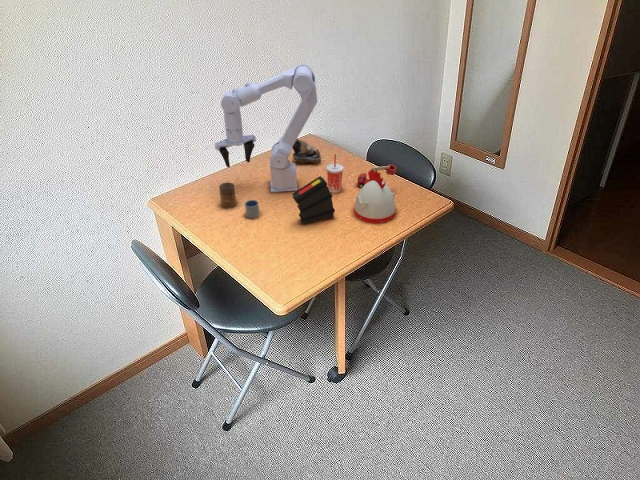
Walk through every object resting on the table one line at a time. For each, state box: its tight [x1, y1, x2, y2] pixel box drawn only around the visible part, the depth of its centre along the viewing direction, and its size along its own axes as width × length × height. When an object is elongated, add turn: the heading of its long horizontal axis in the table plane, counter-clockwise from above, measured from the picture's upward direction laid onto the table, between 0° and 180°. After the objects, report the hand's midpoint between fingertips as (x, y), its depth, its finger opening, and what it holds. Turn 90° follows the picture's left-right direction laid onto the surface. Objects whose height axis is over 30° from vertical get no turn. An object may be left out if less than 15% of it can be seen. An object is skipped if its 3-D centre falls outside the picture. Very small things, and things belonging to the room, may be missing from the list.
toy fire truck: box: [356, 164, 397, 189], centre depth 175 cm, size 3×14×10 cm, turn 68°
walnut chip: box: [218, 182, 236, 196], centre depth 166 cm, size 5×5×2 cm
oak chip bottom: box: [220, 198, 237, 209], centre depth 168 cm, size 5×5×2 cm
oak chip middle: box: [219, 192, 237, 202], centre depth 167 cm, size 5×5×2 cm
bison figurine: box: [292, 138, 322, 164], centre depth 192 cm, size 12×7×10 cm, turn 94°
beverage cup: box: [325, 153, 345, 194], centre depth 173 cm, size 6×6×14 cm
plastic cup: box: [244, 199, 260, 219], centre depth 162 cm, size 4×4×4 cm
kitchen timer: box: [353, 169, 396, 224], centre depth 160 cm, size 14×14×15 cm
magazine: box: [291, 175, 336, 225], centre depth 158 cm, size 4×13×15 cm, turn 110°
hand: (237, 163), depth 174 cm, fingers open, 7 cm apart
